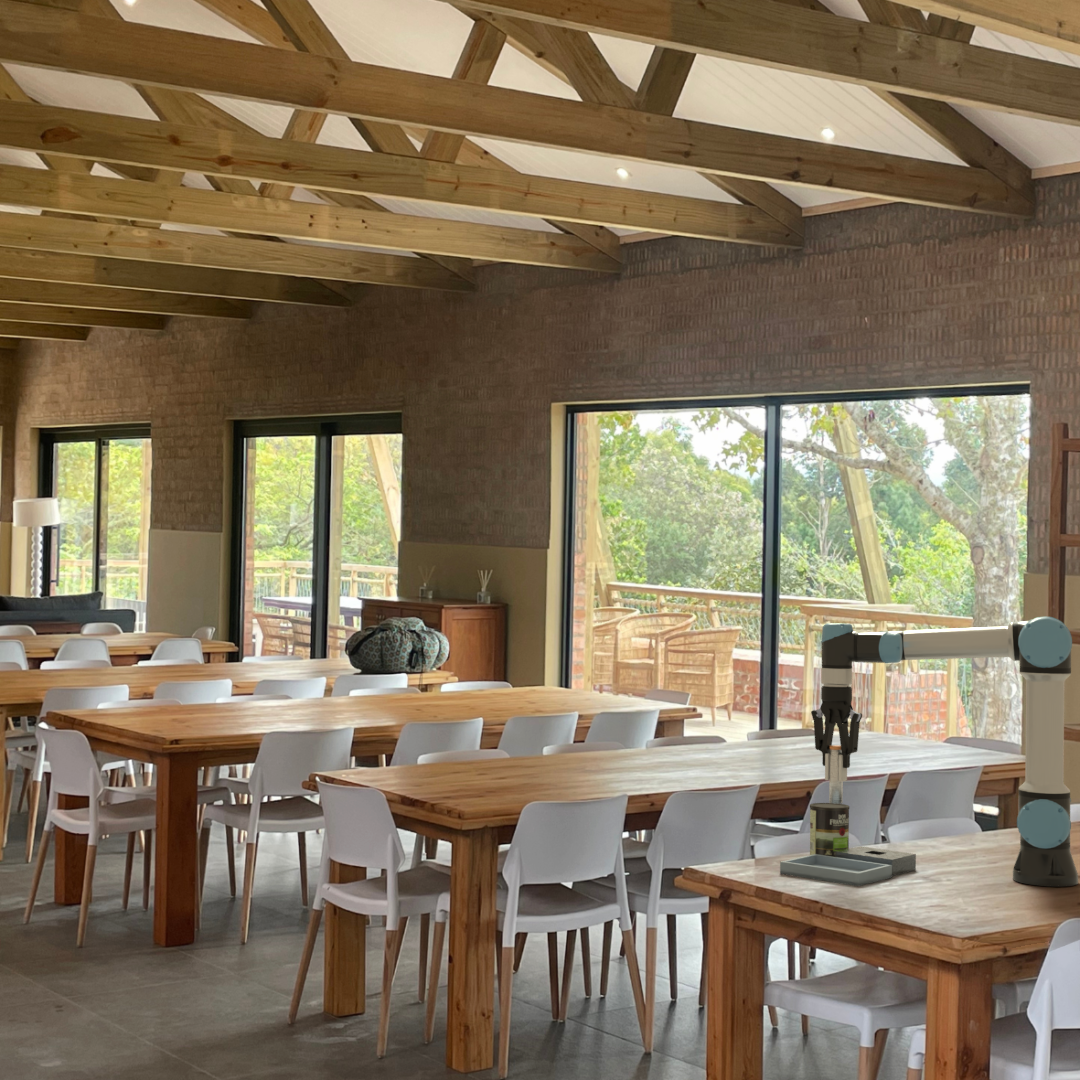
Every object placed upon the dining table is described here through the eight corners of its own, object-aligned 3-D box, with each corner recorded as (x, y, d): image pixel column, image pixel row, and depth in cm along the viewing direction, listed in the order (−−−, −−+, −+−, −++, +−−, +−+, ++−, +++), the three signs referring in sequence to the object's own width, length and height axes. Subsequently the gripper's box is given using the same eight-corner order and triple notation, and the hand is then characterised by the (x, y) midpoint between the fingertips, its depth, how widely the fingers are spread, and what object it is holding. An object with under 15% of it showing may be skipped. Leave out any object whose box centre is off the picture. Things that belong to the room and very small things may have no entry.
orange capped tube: (844, 802, 369) (845, 746, 369) (838, 804, 366) (838, 746, 367) (833, 801, 371) (834, 745, 371) (826, 802, 369) (827, 745, 369)
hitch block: (915, 869, 377) (915, 853, 378) (892, 875, 369) (892, 859, 369) (859, 861, 388) (860, 846, 388) (835, 867, 379) (835, 851, 379)
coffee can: (857, 860, 390) (857, 806, 391) (827, 863, 385) (827, 808, 386) (830, 854, 399) (831, 801, 400) (801, 857, 394) (801, 803, 394)
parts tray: (891, 877, 366) (891, 865, 367) (858, 886, 355) (858, 873, 355) (814, 865, 381) (814, 854, 381) (780, 873, 369) (780, 861, 369)
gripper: (873, 686, 367) (872, 782, 366) (816, 683, 378) (815, 776, 377) (857, 687, 362) (857, 784, 361) (800, 684, 372) (799, 778, 372)
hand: (836, 780), depth 369 cm, fingers closed on orange capped tube, 3 cm apart
